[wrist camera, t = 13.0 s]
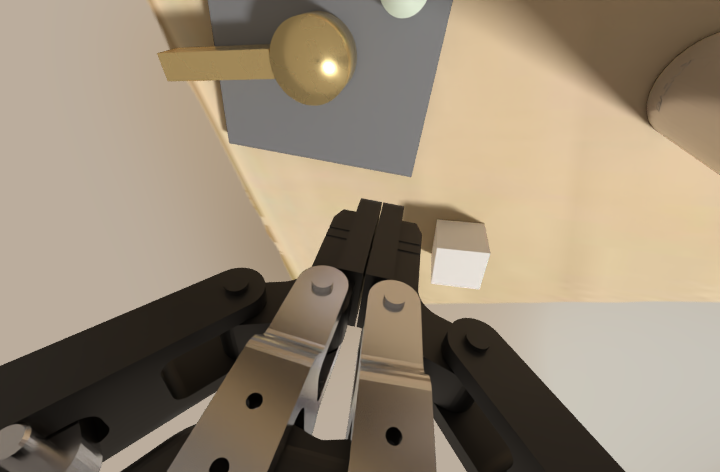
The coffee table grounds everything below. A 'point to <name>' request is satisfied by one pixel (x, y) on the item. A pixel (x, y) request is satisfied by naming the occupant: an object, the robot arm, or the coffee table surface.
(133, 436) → the robot arm
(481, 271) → the beige cube
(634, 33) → the coffee table surface
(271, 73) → the tan handled round piece
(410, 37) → the grey base plate
